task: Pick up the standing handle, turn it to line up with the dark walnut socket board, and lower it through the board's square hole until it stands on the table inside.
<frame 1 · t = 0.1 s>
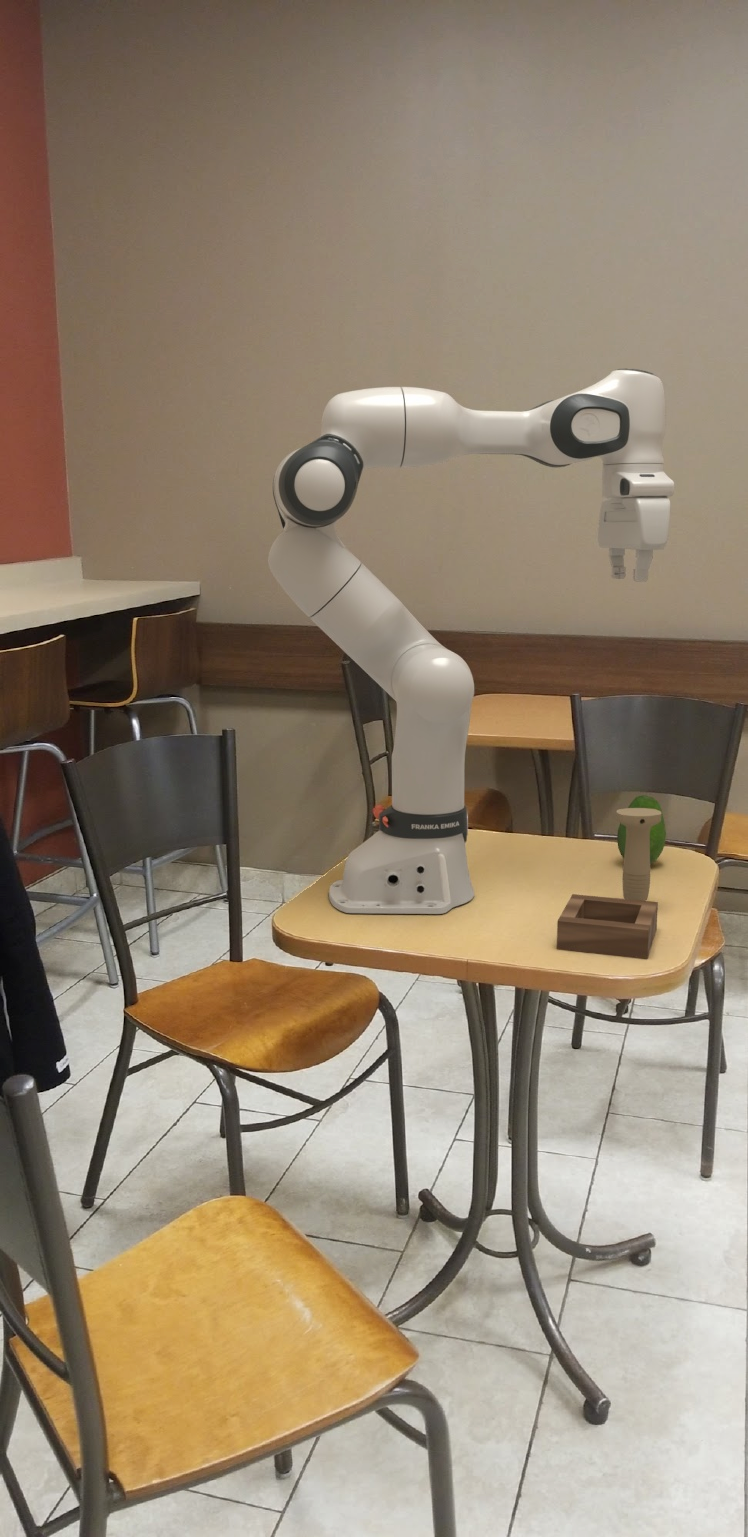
hand: (629, 580, 173), 48 cm above the table, tool pointing down, fingers open, 8 cm apart
fruit: (639, 865, 194), on the table
socket board: (607, 938, 159), on the table
handle: (635, 911, 171), on the table
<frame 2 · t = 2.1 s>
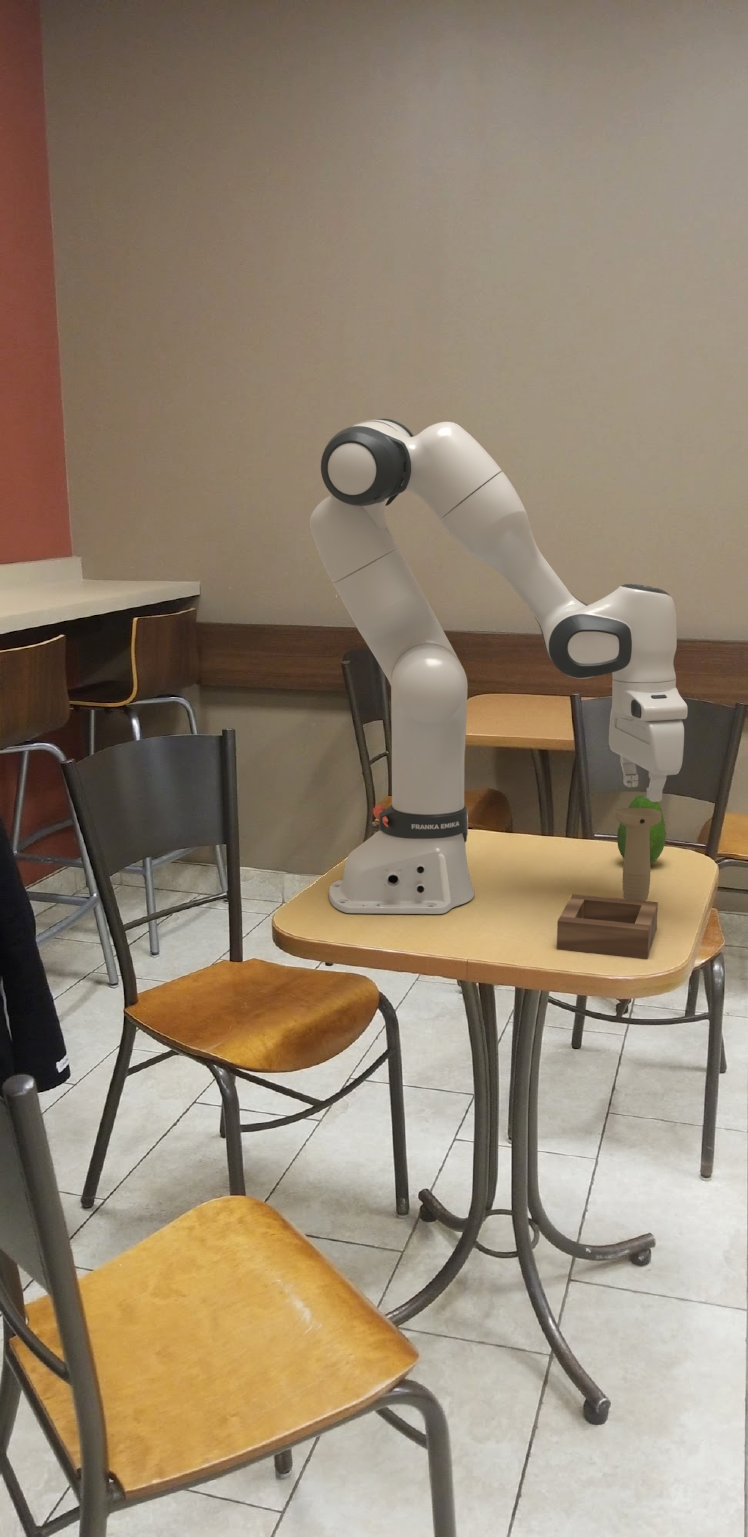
hand: (642, 793, 167), 18 cm above the table, tool pointing down, fingers open, 8 cm apart
nothing on the table moved.
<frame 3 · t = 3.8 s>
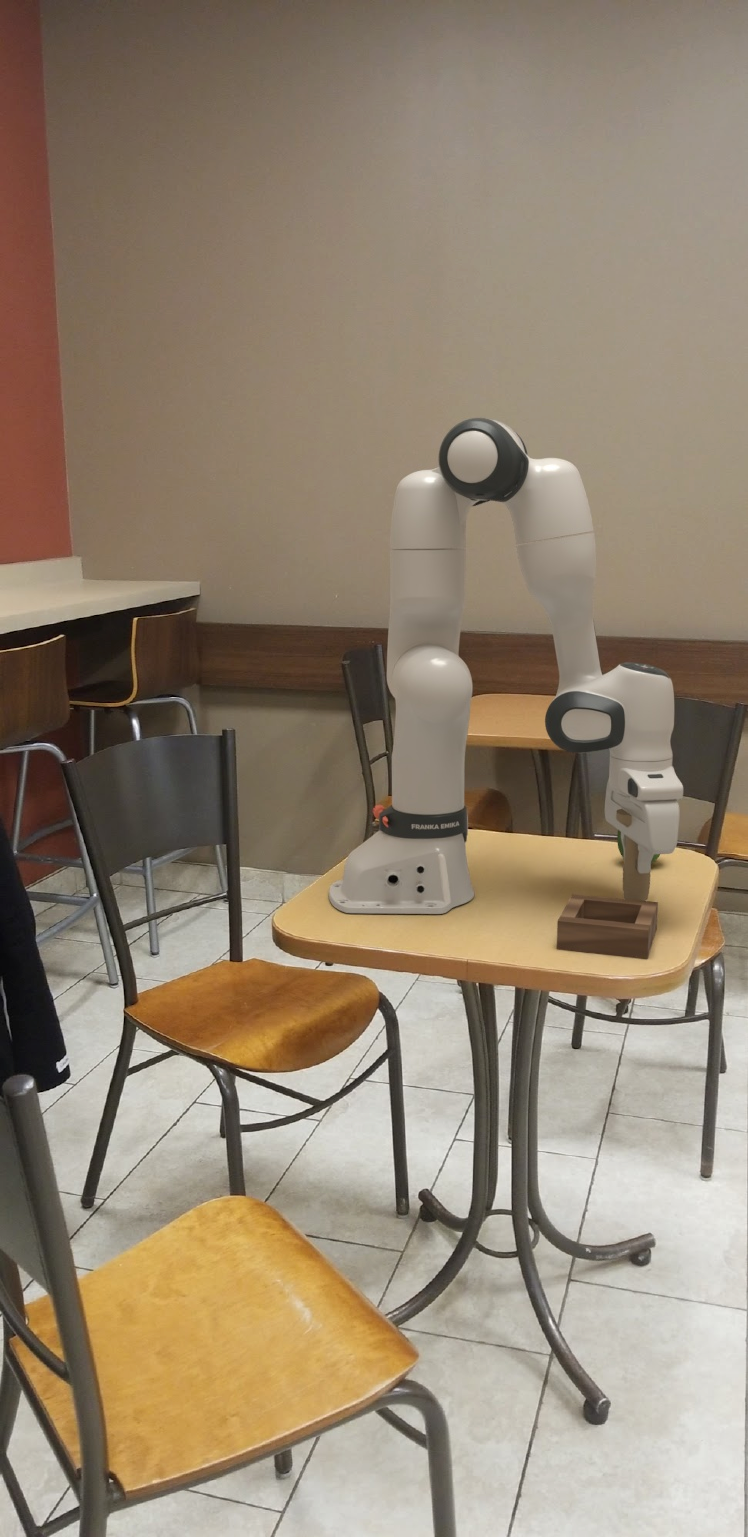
hand: (636, 867, 170), 7 cm above the table, tool pointing down, fingers closed on handle, 3 cm apart
handle: (635, 911, 171), on the table, touching gripper
everything else where it was.
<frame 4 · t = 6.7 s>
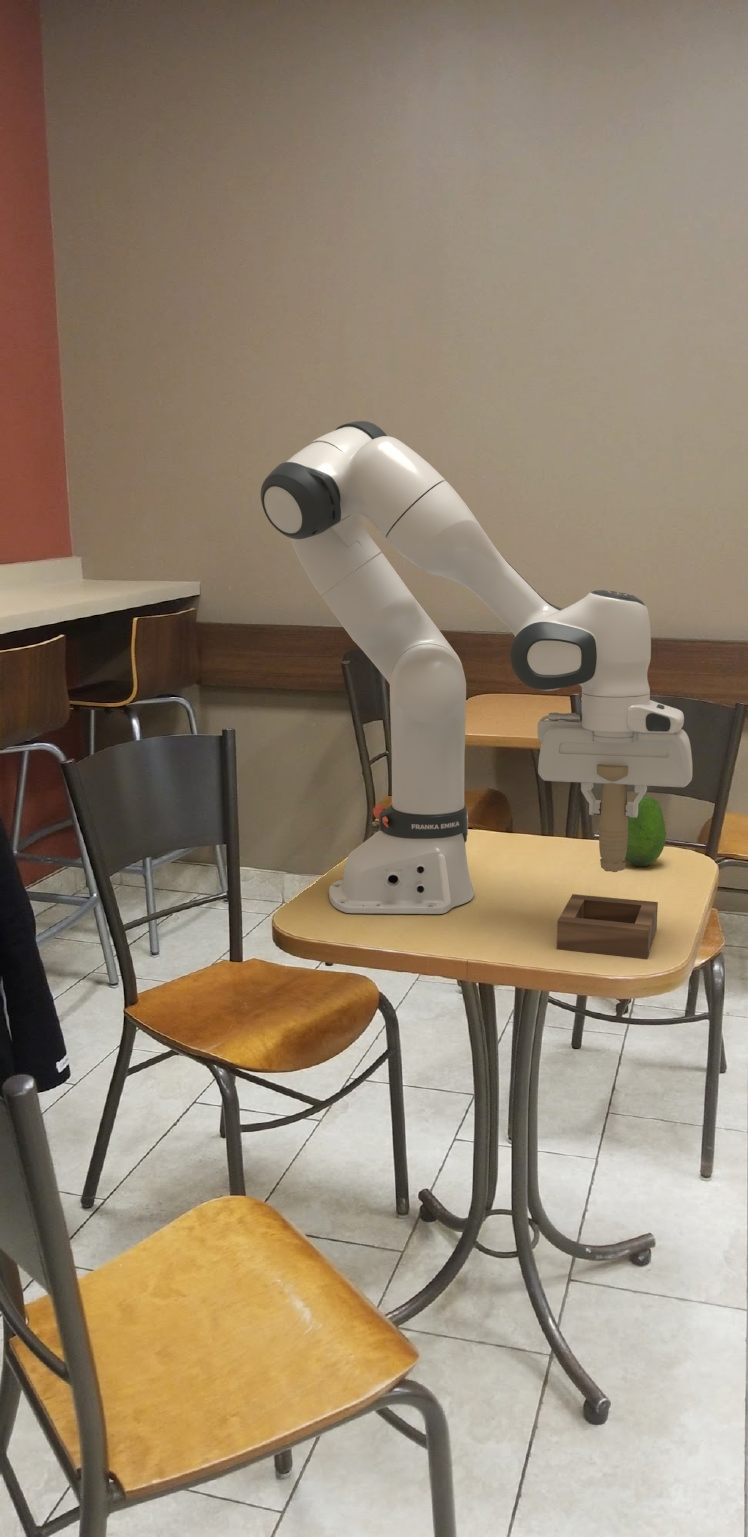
hand: (613, 815, 156), 18 cm above the table, tool pointing down, fingers closed on handle, 3 cm apart
handle: (612, 870, 158), point 10 cm above the table, touching gripper
everything else where it was.
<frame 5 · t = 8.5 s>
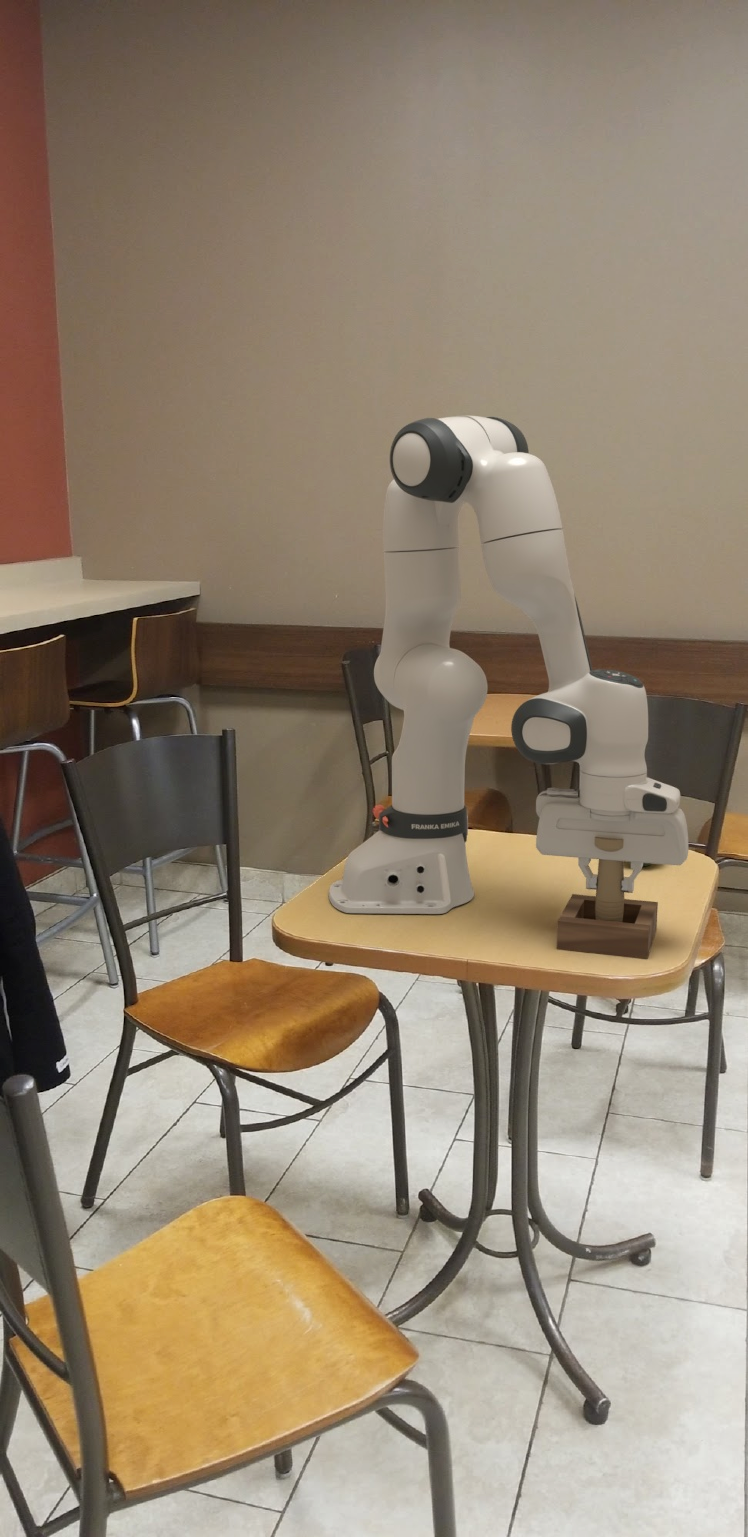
hand: (610, 889, 158), 7 cm above the table, tool pointing down, fingers closed on handle, 3 cm apart
handle: (608, 940, 159), resting in socket board, touching gripper
everything else where it was.
when the fingers open (7 cm above the table, at t = 8.6 s): handle stays where it is, resting in socket board.
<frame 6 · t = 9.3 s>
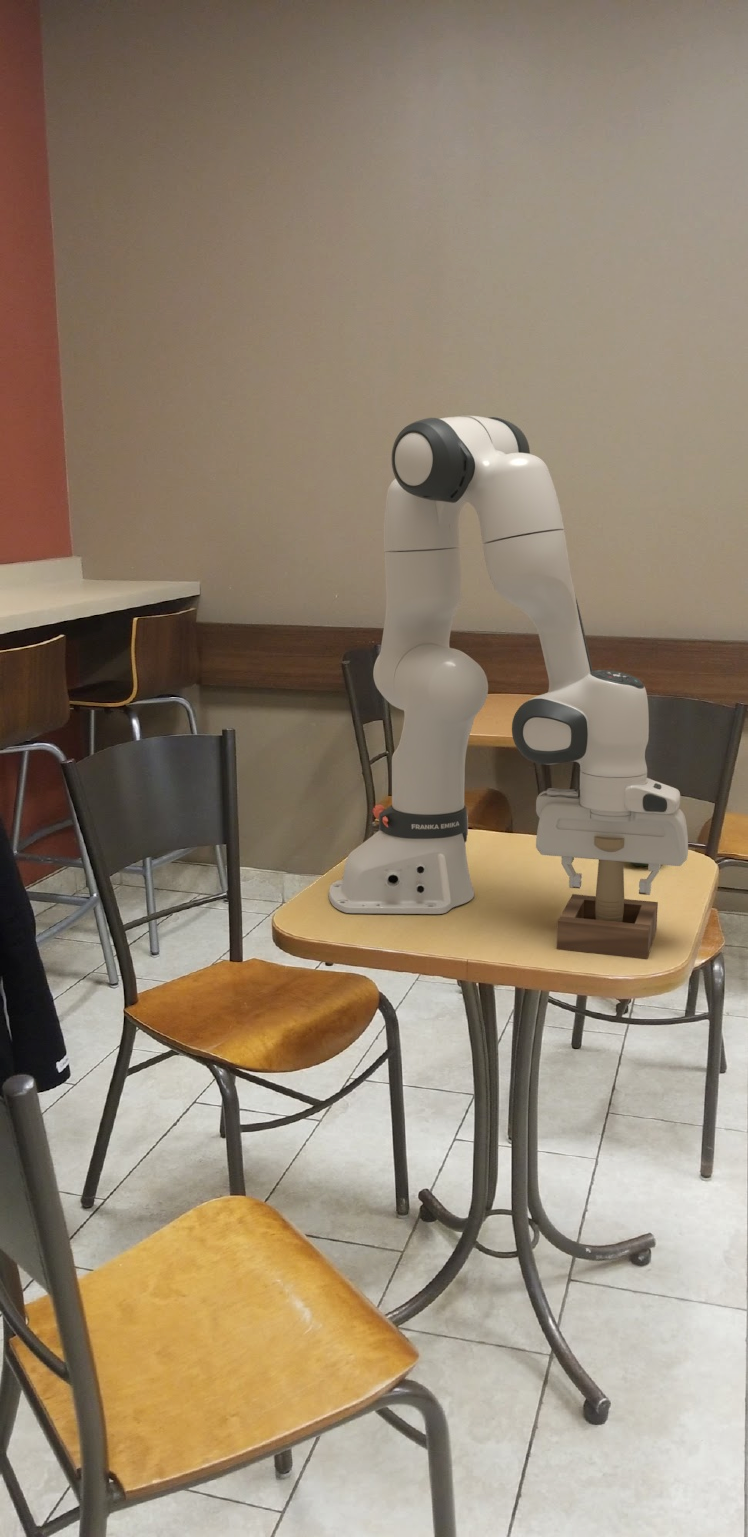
hand: (609, 890, 158), 7 cm above the table, tool pointing down, fingers open, 8 cm apart
handle: (608, 940, 159), resting in socket board
everything else where it was.
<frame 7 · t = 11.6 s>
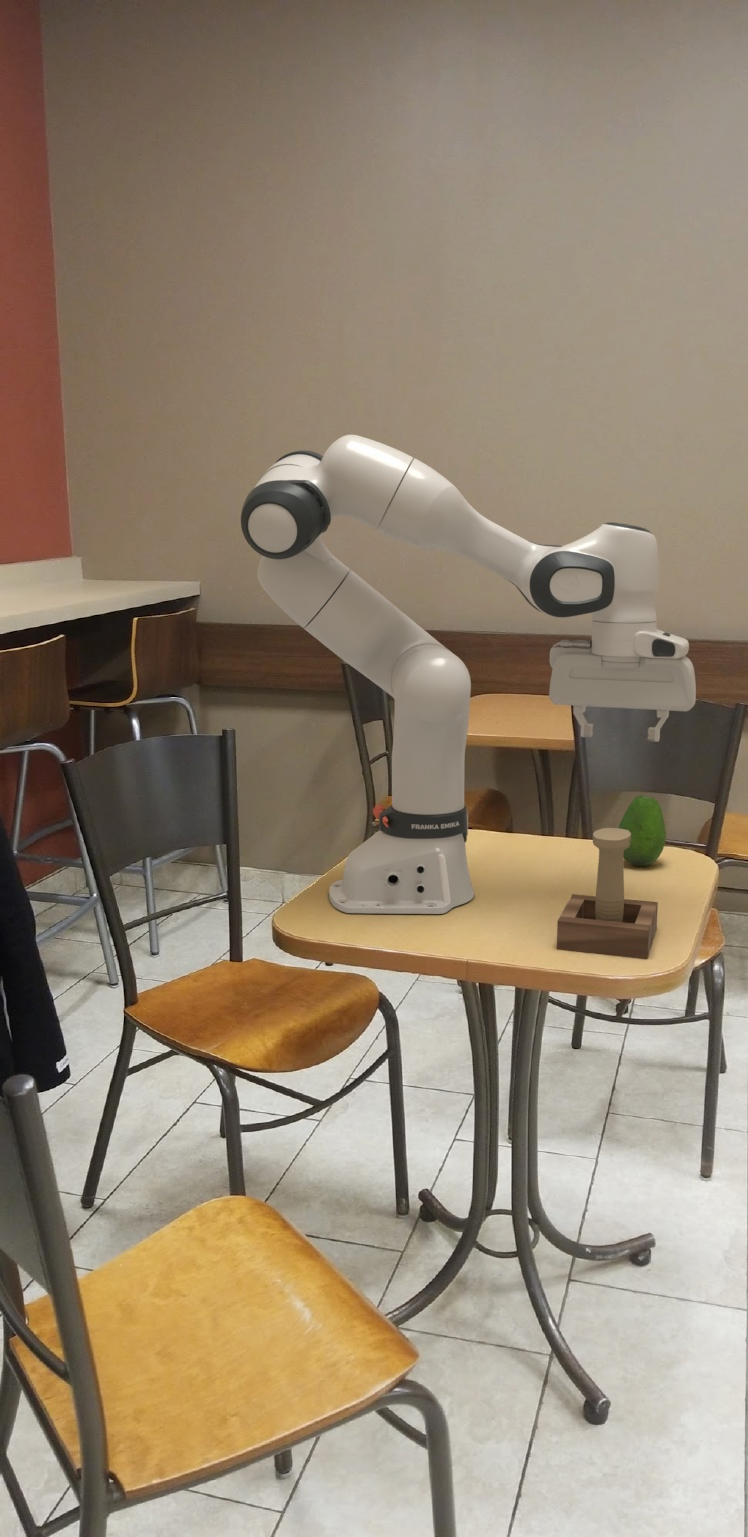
hand: (619, 738, 164), 26 cm above the table, tool pointing down, fingers open, 8 cm apart
nothing on the table moved.
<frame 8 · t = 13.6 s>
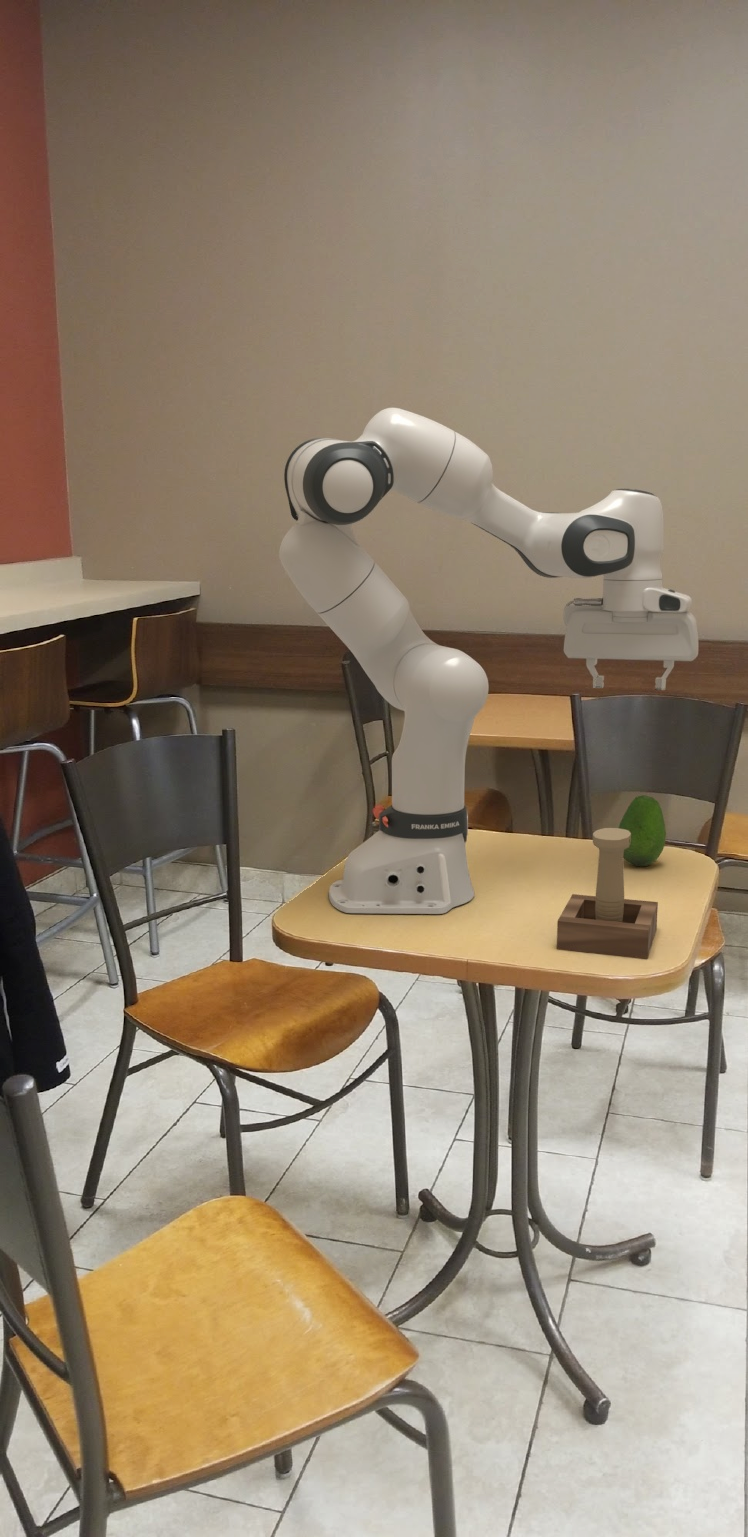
hand: (629, 688, 179), 31 cm above the table, tool pointing down, fingers open, 8 cm apart
nothing on the table moved.
at the end: handle 0.1 cm from the socket board (horizontally); handle resting in socket board; handle tilted 0° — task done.
